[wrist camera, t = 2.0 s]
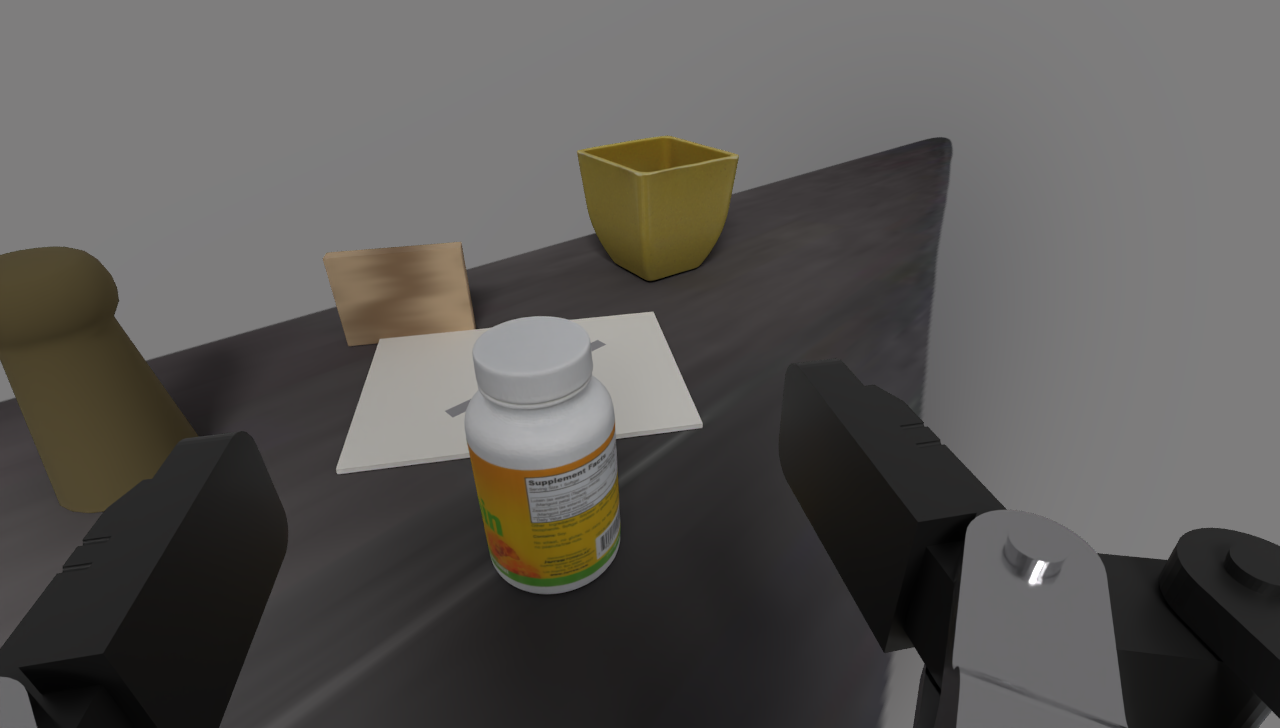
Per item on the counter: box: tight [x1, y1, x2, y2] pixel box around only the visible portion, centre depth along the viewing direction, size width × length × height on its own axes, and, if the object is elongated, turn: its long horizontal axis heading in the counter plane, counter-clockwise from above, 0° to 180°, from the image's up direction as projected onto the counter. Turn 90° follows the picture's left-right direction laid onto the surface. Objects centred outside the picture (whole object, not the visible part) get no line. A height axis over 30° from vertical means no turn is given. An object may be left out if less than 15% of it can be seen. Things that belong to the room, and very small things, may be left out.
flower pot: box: [577, 136, 739, 281], centre depth 49 cm, size 9×9×9 cm
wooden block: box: [323, 242, 476, 346], centre depth 41 cm, size 8×1×6 cm, turn 100°
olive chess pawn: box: [0, 247, 199, 513], centre depth 29 cm, size 6×6×11 cm
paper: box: [336, 312, 703, 474], centre depth 38 cm, size 18×13×1 cm
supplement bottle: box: [464, 316, 620, 594], centre depth 24 cm, size 5×5×10 cm
